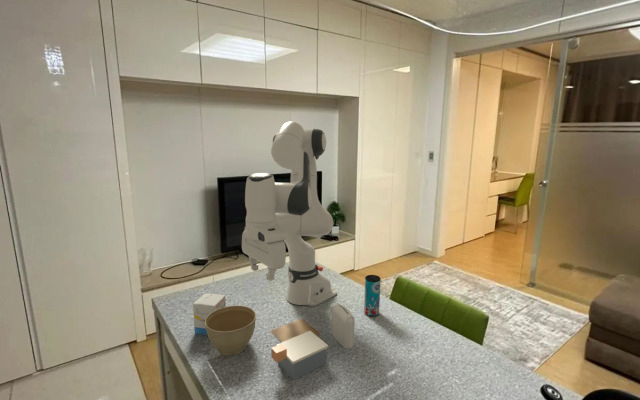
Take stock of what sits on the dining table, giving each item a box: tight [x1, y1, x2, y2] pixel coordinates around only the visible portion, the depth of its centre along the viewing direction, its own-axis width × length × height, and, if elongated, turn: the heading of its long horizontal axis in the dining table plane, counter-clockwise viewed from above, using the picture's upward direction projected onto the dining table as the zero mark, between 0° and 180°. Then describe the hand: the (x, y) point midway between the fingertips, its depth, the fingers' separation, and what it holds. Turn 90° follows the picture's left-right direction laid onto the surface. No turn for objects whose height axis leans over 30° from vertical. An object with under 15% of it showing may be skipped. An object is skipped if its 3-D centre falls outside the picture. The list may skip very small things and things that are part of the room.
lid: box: [270, 331, 329, 364], centre depth 100 cm, size 16×10×4 cm, turn 127°
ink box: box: [192, 292, 227, 336], centre depth 121 cm, size 9×8×12 cm
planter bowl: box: [205, 305, 257, 356], centre depth 110 cm, size 16×16×11 cm
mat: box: [269, 318, 322, 343], centre depth 119 cm, size 14×12×1 cm
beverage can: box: [363, 274, 381, 317], centre depth 131 cm, size 6×6×15 cm
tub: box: [277, 348, 328, 381], centre depth 102 cm, size 12×9×6 cm
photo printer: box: [331, 303, 356, 349], centre depth 114 cm, size 10×4×12 cm, turn 26°
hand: (262, 274), depth 99 cm, fingers open, 8 cm apart
